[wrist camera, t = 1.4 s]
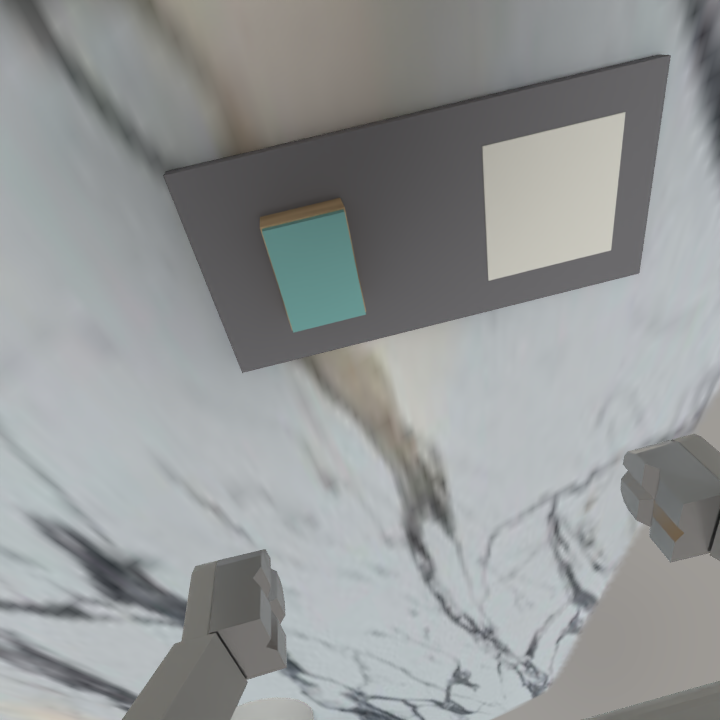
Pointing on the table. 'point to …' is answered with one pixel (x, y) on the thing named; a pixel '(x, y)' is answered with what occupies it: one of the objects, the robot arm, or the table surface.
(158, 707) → the robot arm
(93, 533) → the table surface
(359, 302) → the teal flat block
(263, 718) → the honey pot
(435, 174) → the rubber mat
